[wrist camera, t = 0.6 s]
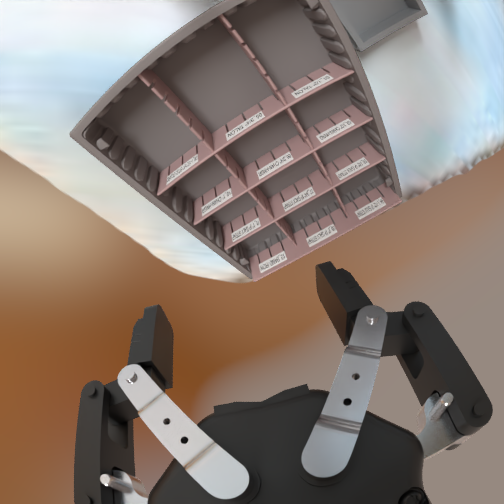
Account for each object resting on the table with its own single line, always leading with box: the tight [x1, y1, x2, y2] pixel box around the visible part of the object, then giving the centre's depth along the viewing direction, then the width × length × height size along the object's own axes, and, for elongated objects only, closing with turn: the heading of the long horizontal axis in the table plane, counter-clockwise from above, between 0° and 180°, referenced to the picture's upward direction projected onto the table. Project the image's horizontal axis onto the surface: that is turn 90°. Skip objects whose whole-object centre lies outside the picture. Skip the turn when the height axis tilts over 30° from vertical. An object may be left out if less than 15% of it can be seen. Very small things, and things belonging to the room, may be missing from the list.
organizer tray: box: [70, 0, 402, 282], centre depth 36 cm, size 32×40×10 cm
